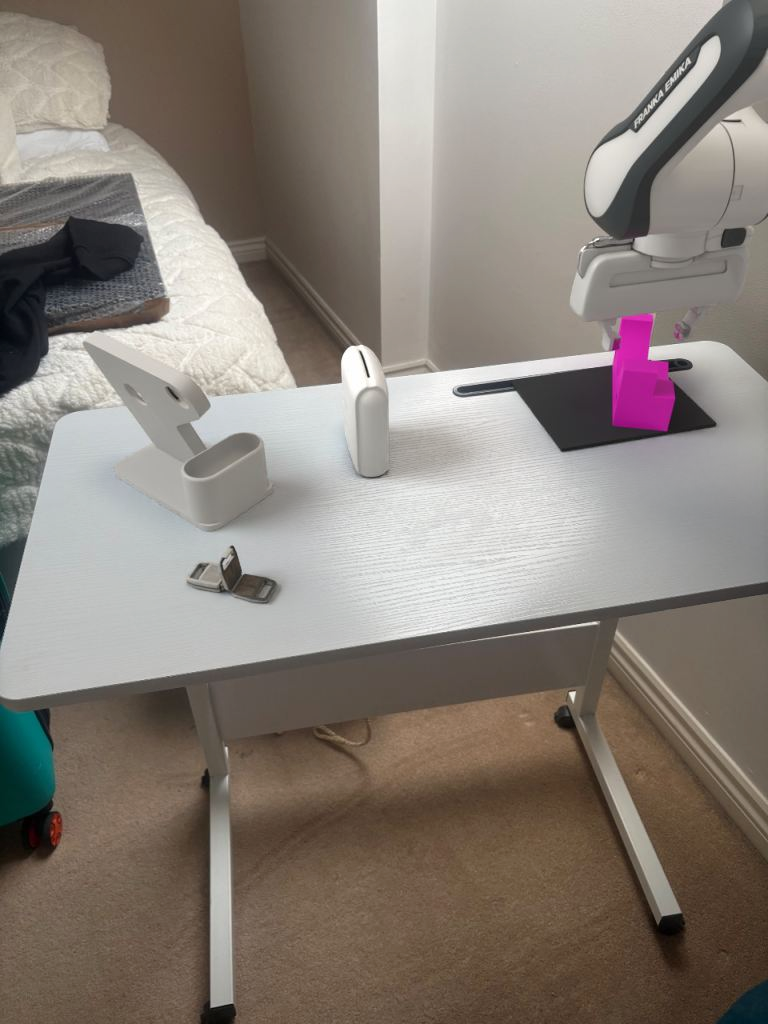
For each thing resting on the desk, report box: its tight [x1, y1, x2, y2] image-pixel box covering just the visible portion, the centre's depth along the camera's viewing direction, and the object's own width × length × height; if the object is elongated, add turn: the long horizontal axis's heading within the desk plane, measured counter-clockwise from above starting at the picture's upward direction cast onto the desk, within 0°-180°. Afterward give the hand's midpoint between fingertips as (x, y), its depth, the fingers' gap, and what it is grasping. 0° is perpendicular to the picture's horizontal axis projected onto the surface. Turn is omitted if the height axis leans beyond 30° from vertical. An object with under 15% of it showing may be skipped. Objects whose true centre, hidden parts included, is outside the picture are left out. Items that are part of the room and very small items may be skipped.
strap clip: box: [185, 545, 278, 603], centre depth 78 cm, size 8×3×4 cm, turn 72°
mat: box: [510, 359, 717, 453], centre depth 103 cm, size 20×16×1 cm
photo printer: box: [340, 344, 390, 478], centre depth 92 cm, size 10×4×12 cm, turn 11°
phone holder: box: [82, 330, 275, 532], centre depth 86 cm, size 17×10×18 cm, turn 51°
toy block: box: [612, 313, 675, 431], centre depth 102 cm, size 15×6×8 cm, turn 168°
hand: (646, 343), depth 99 cm, fingers open, 8 cm apart
